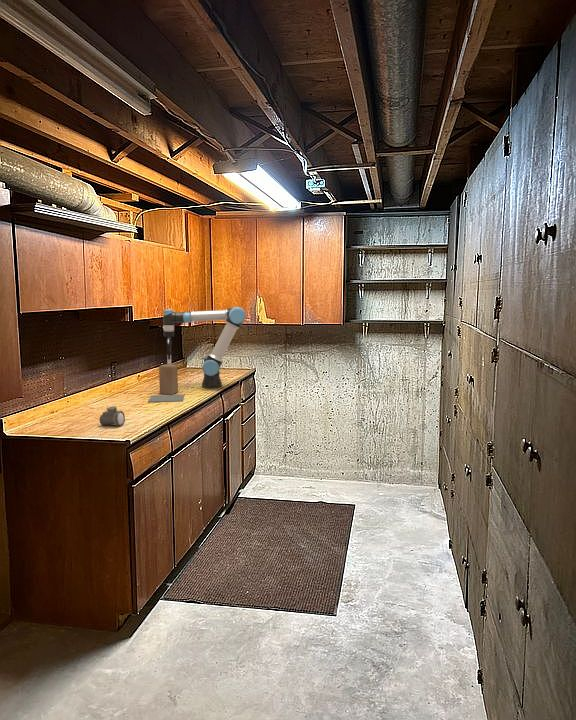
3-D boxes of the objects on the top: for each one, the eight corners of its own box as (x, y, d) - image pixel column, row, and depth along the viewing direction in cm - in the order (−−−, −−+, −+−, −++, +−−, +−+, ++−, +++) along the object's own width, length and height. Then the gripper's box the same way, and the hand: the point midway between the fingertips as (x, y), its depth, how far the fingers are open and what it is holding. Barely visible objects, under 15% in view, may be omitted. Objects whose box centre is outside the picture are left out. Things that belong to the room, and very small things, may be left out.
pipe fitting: (127, 423, 294) (123, 404, 292) (119, 428, 286) (115, 409, 285) (107, 424, 297) (103, 406, 295) (99, 429, 289) (95, 410, 288)
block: (172, 394, 381) (172, 366, 379) (159, 394, 383) (158, 365, 381) (178, 392, 391) (177, 364, 389) (165, 391, 393) (164, 364, 391)
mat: (184, 395, 379) (184, 394, 379) (182, 401, 357) (182, 400, 357) (151, 396, 376) (151, 395, 376) (147, 402, 354) (147, 401, 354)
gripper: (164, 330, 402) (164, 362, 404) (162, 331, 389) (163, 364, 392) (174, 330, 403) (175, 362, 406) (173, 331, 390) (174, 364, 393)
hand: (169, 363), depth 399 cm, fingers closed
